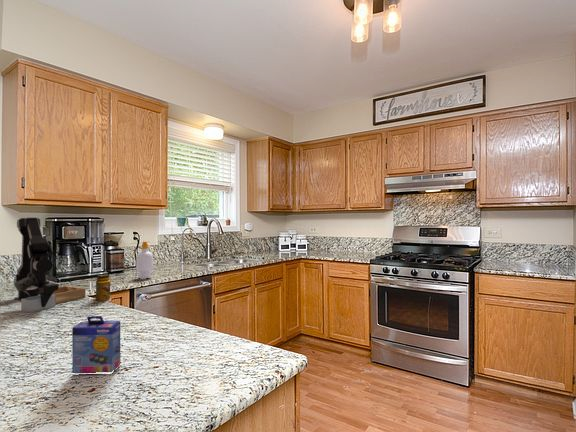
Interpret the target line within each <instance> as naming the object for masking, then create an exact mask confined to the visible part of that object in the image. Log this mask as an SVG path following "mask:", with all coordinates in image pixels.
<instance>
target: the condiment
mask: <svg viewBox="0 0 576 432" xmlns="http://www.w3.org/2000/svg"><path fill="white" fill-rule="evenodd" d="M110 301H112V298H111V280H110V274H99V275H97V276H96V282H95V298H91V299H90V303H91V304H93V303H102V302H110Z"/></svg>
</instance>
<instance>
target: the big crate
mask: <svg viewBox="0 0 576 432" xmlns="http://www.w3.org/2000/svg"><path fill="white" fill-rule="evenodd" d="M52 295H55V305H57V304H62V303H67V302H72V301H75V300H81V299H85V298H86V287H85V288H84V287H77V286H68V285H63V286H59V290H56V291H55V292H53V294H52ZM38 296H39V295H38Z"/></svg>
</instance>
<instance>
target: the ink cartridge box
mask: <svg viewBox="0 0 576 432" xmlns="http://www.w3.org/2000/svg"><path fill="white" fill-rule="evenodd" d="M86 318H87V320H85V321H80V322H79V323H77V324H76V325H74V326H72V329H71V330H72V332H71V333H72V335H71V336H72V341H71V343H72V344H71V345H72V351H71V352H72V353H71V354H72V355H71V356H72V357H71V360H72V361H71V364H72V369H71V370H72V373H96V372H112V371H113V370H115V369H116V368H117V367H118V366H119V365H120V364H121V361H122V360H121V359H122V358H121V321H120V320H104V319H103V316H102V315H96V316H95V315H91V316H86ZM93 319H94V320H93ZM95 319H96V320H95ZM72 373H71V374H72Z"/></svg>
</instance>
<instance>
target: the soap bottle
mask: <svg viewBox="0 0 576 432" xmlns="http://www.w3.org/2000/svg"><path fill="white" fill-rule="evenodd" d="M148 243H150V241H142V244H141V251H139V252H138V253H137V254H136V262H135V263H136V271H137V272H138V279H139V278H140V279H139V280H147V279H146V278H149V279H151V278H152V271H153V270H154V256H153V253H152V252H151V251H149V244H148Z"/></svg>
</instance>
